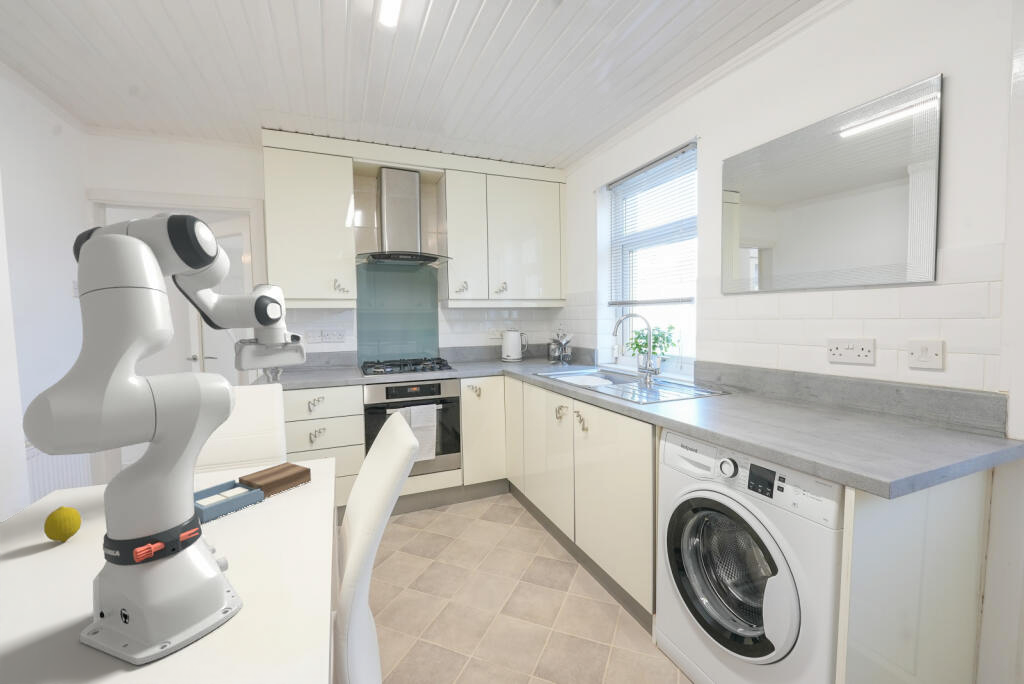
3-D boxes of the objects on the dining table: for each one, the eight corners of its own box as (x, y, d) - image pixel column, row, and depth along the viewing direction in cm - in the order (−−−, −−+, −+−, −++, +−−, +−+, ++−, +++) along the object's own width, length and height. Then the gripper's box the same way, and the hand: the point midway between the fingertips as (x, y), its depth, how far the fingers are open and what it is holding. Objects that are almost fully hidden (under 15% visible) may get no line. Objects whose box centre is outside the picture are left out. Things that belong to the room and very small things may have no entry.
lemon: (43, 551, 87) (40, 515, 86) (48, 541, 91) (45, 506, 90) (80, 541, 90) (77, 506, 90) (84, 532, 94) (81, 498, 94)
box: (264, 500, 109) (263, 488, 109) (203, 523, 97) (202, 509, 97) (237, 490, 116) (236, 478, 116) (178, 511, 104) (177, 497, 104)
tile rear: (249, 497, 110) (249, 490, 110) (229, 504, 106) (229, 497, 106) (240, 493, 113) (239, 486, 113) (220, 500, 109) (219, 493, 108)
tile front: (204, 505, 101) (204, 513, 101) (226, 498, 105) (227, 505, 106) (195, 501, 104) (195, 509, 104) (217, 494, 108) (217, 501, 108)
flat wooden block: (311, 481, 122) (310, 468, 121) (262, 500, 110) (261, 485, 109) (287, 474, 128) (287, 462, 127) (239, 491, 116) (238, 477, 115)
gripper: (239, 339, 115) (242, 387, 116) (307, 336, 133) (309, 378, 134) (228, 339, 119) (231, 386, 119) (296, 336, 136) (298, 377, 137)
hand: (273, 382), depth 127 cm, fingers closed
